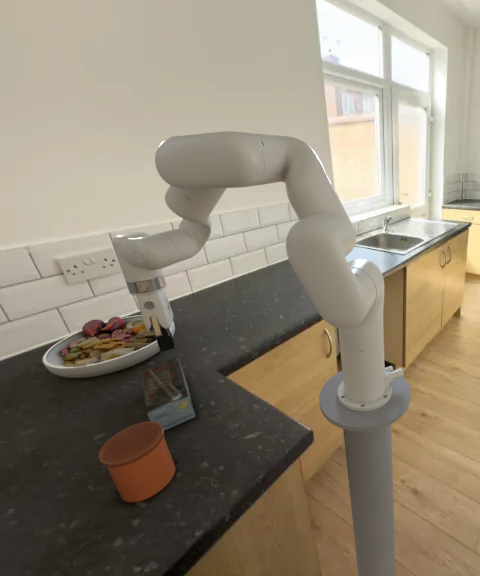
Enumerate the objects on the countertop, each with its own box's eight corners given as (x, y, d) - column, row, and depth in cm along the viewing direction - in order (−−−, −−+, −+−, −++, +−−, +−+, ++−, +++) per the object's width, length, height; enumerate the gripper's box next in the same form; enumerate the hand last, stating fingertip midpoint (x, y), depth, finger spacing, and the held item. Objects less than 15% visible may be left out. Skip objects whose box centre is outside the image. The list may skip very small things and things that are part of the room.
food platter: (198, 338, 101) (192, 316, 98) (83, 397, 76) (70, 370, 73) (144, 321, 114) (137, 301, 111) (30, 367, 89) (17, 343, 86)
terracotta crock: (178, 451, 61) (165, 414, 58) (176, 488, 54) (160, 448, 51) (123, 471, 57) (105, 433, 54) (112, 514, 50) (91, 473, 47)
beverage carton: (153, 436, 64) (143, 411, 62) (148, 388, 79) (139, 366, 76) (197, 418, 69) (189, 393, 66) (184, 375, 83) (178, 354, 81)
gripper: (162, 290, 73) (183, 358, 80) (167, 272, 85) (185, 332, 92) (121, 297, 70) (147, 367, 76) (133, 278, 82) (154, 339, 89)
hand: (167, 348), depth 84 cm, fingers closed
